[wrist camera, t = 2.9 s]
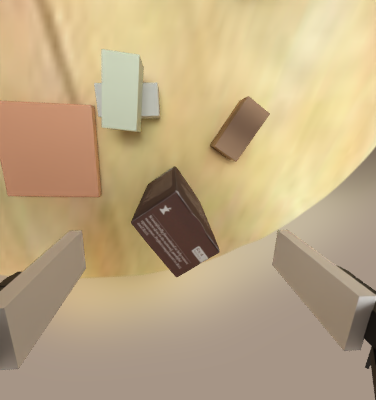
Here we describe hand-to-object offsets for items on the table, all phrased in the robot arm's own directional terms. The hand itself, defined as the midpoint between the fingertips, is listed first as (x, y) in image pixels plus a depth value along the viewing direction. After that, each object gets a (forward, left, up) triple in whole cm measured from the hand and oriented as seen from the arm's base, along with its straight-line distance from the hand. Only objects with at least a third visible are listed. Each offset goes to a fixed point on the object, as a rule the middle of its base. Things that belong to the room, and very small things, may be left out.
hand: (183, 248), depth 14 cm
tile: (-14, +5, -13) cm, 20 cm away
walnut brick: (+7, +8, -13) cm, 17 cm away
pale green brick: (-5, +11, -10) cm, 16 cm away
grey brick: (-5, +11, -13) cm, 18 cm away
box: (0, 0, -13) cm, 13 cm away
